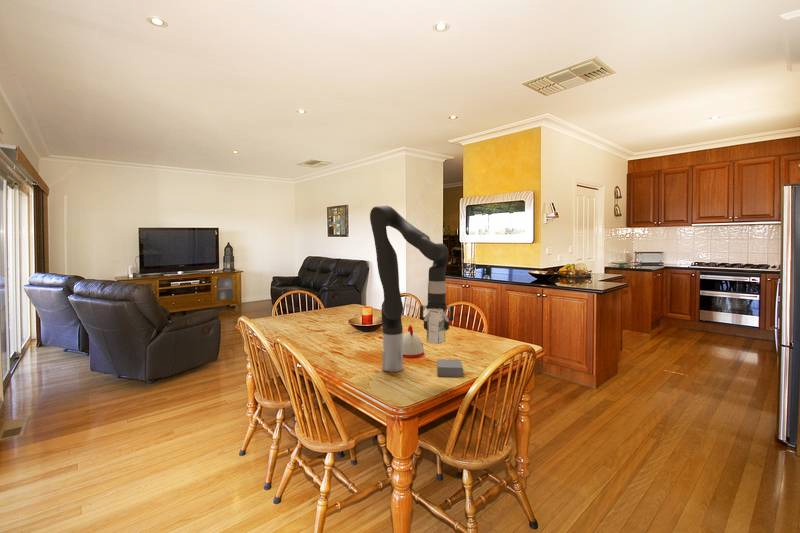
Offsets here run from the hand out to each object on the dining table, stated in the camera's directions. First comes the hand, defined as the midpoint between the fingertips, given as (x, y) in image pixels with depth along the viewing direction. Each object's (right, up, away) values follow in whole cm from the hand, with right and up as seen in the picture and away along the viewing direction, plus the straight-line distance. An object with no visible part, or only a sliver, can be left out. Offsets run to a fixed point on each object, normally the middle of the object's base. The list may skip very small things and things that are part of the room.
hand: (436, 330), depth 164 cm
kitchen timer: (-10, -19, +41) cm, 46 cm away
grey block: (+7, -21, +13) cm, 26 cm away
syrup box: (0, -5, 0) cm, 5 cm away
